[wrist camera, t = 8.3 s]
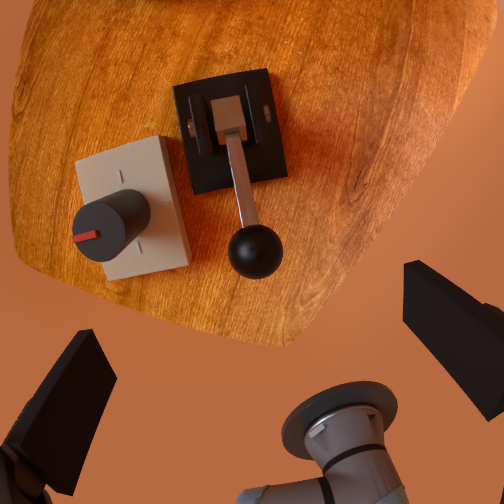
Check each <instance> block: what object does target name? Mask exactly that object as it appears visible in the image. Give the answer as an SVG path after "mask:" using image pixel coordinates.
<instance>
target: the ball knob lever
mask: <svg viewBox="0 0 504 504" xmlns="http://www.w3.org/2000/svg"><path fill="white" fill-rule="evenodd" d="M210 104H211V109H212V115H213V121H214V126H215V132H216V135H217V139H218V142H219V145H224V144H226V146H227V151H228V157H229V162H230V167H231V172H232V177H233V183H234V188H235V193H236V198H237V203H238V208H239V214H240V219H241V224H242V228H241V229H240V230H238V231H237V232H236V233H235V234H234V235H233V237H232V239H231V241H230V243H229V247H228V256H229V260H230V263H231V265H232V267H233V268H234V269H235V271H236V272H237V273H239V274H240V275H242V276H243V277H246V278H249V279H262V278H266V277H268V276H270V275H271V274H273V273H274V272H275V271H276V270H277V269H278V267H279V266H280V264H281V261H282V258H283V246H282V242H281V240H280V238H279V236H278V235H277V234H276V233H275V232H274V231H273V230H272V229H270V228H268V227H266V226H264V225H259V222H258V218H257V213H256V208H255V203H254V198H253V193H252V189H251V184H250V179H249V174H248V170H247V165H246V160H245V155H244V151H243V146H242V141H245V140H247V139H248V138H247V125H246V120H245V116H244V112H243V108H242V103H241V99H240V96H239V95H236V96H231V97H226V98H221V99H216V100H211V101H210Z"/></svg>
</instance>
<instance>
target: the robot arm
mask: <svg viewBox="0 0 504 504" xmlns="http://www.w3.org/2000/svg"><path fill="white" fill-rule="evenodd" d="M403 322H404V323H405V324H406V325H407V326H408V327H409V328H410V329H411V331H412V332H413V333H414V334H415V335H416V336H417V337H418V338H419V339H420V341H421V342H422V343H423V344H424V345H425V346H426V347H427V348H428V350H429V351H430V352H431V353H432V354H433V355H434V356H435V358H436V359H437V360H438V361H439V362H440V363H441V364H442V366H443V367H444V368H445V369H446V371H447V372H448V373H449V374H450V375H451V377H452V378H453V379H454V380H455V381H456V383H457V384H458V385H459V386H460V387H461V388H462V390H463V391H464V392H465V393H466V394H467V396H468V397H469V398H470V400H471V401H472V402H473V403H474V405H475V406H476V407H477V408H478V410H479V411H480V412H481V414H482V415H483V416H484V417H485V419H486V420H487V421H488V422H489V421H490V420H492V419H493V418H495V417H496V416H498V415H499V414H501V413H502V412H504V312H503V311H501V310H500V309H499V308H497V307H495V306H492V305H490V304H487V303H484V304H482V303H480V302H479V301H477V300H476V299H475V298H473V297H472V296H471V295H469V294H468V293H466V292H465V291H464V290H462V289H461V288H459V287H458V286H457V285H455V284H454V283H452V282H451V281H449V280H448V279H447V278H445V277H444V276H442V275H441V274H439V273H438V272H436V271H435V270H433V269H432V268H430V267H429V266H427V265H426V264H424V263H423V262H421V261H420V260H417V261H413V262H409V263H405V264H404V297H403ZM116 380H117V377H116V375H115V373H114V371H113V369H112V367H111V366H110V364H109V362H108V360H107V358H106V356H105V354H104V352H103V351H102V348H101V346H100V345H99V342H98V340H97V338H96V336H95V334H94V332H93V330H92V329H88V330H81V331H78V332H77V334H76V335H75V336H74V338H73V339H72V341H71V342H70V343H69V345H68V346H67V347H66V349H65V350H64V352H63V353H62V354H61V356H60V357H59V359H58V360H57V361H56V363H55V364H54V366H53V367H52V369H51V370H50V372H49V373H48V375H47V376H46V378H45V379H44V380H43V382H42V383H41V385H40V386H39V388H38V390H37V391H36V393H35V394H34V396H33V397H32V398H31V399H30V400H29V401H28V402H27V403H26V405H25V407H24V408H23V410H22V413H20V415H19V416H18V420H16V421H15V423H14V425H13V426H12V428H11V430H10V431H9V433H8V435H7V437H6V438H5V440H4V442H3V444H2V445H1V446H0V504H53V503H52V501H51V498H50V495H49V494H48V492H47V491H46V490H45V489H44V487H45V485H46V484H47V485H48V486H50V487H51V488H52V489H53V490H54V491H56V492H57V493H61V494H65V495H69V496H73V493H74V491H75V488H76V485H77V482H78V479H79V476H80V473H81V470H82V467H83V464H84V461H85V459H86V456H87V453H88V450H89V448H90V445H91V442H92V440H93V437H94V434H95V432H96V429H97V426H98V424H99V422H100V419H101V416H102V414H103V412H104V409H105V406H106V404H107V402H108V399H109V397H110V394H111V392H112V390H113V387H114V385H115V383H116ZM303 440H304V444H305V447H306V449H307V451H308V453H309V454H310V455H311V457H312V458H313V459H314V460H315V462H316V463H317V464H318V465H319V467H320V468H321V469H322V473H323V477H319V478H314V479H309V480H303V481H298V482H292V483H286V484H279V485H271V486H270V485H266V486H264V487H257V488H251V489H246V490H244V491H243V492H241V493H240V494H239V496H238V498H237V501H236V504H409V501H408V498H407V495H406V493H405V490H404V489H405V486H404V485H403V484H402V482H401V480H400V478H399V476H398V473H397V471H396V469H395V467H394V465H393V463H392V460H391V458H390V456H389V454H388V452H387V450H386V448H385V445H384V429H383V419H382V416H381V414H380V412H379V410H378V408H377V407H376V406H374V405H372V404H370V403H364V402H356V403H349V404H345V405H341V406H338V407H335V408H333V409H331V410H329V411H327V412H325V413H323V414H321V415H320V416H318V417H317V418H316V419H314V420H313V421H312V422H311V423H310V424H309V425H308V427H307V428H306V430H305V432H304V435H303ZM500 504H504V488H503V493H502V498H501V502H500Z"/></svg>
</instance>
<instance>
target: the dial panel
mask: <svg viewBox="0 0 504 504" xmlns="http://www.w3.org/2000/svg"><path fill="white" fill-rule="evenodd" d="M75 166H76V171H77V176H78V180H79V184H80V189H81V193H82V197H83V201H84V205H86V204H88V203H90V202H93V201H95V200H98V199H100V198H102V197H105V196H107V195H110V194H112V193H115V192H118V191H120V190H123V189H133V190H136V191H138V192H140V193H141V194H142V195H143V196H144V197H145V198H146V199H147V201H148V203H149V206H150V210H151V217H150V221H149V224H148V226H147V227H146V228H145V230H144V231H143V232H142V233H140V234H139V235H138V236H137V237H136V238H135V239H134V240H133V241H132V242H131V243H130V244H129V245H128V246H127V247H126V248H125V249H124V250H123V251H122V252H121V253H120V254H119V255H118V256H117V257H116V258H114V259H112V260H110V261H107V262H102V265H103V268H104V271H105V274H106V277H107V279H108V281H112V280H118V279H123V278H128V277H133V276H138V275H143V274H148V273H153V272H158V271H163V270H168V269H173V268H178V267H184V266H189V264H190V262H191V259H192V252H191V248H190V244H189V241H188V237H187V233H186V229H185V225H184V220H183V216H182V212H181V208H180V204H179V199H178V195H177V191H176V186H175V182H174V177H173V173H172V168H171V164H170V159H169V154H168V149H167V144H166V140H165V136H161V135H155V136H152V137H148V138H145V139H141V140H138V141H135V142H131V143H128V144H125V145H122V146H119V147H116V148H113V149H110V150H107V151H104V152H101V153H98V154H95V155H92V156H90V157H87V158H84V159H81V160H79V161H76V162H75Z"/></svg>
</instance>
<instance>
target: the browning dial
mask: <svg viewBox="0 0 504 504" xmlns="http://www.w3.org/2000/svg"><path fill="white" fill-rule="evenodd" d="M150 217H151V210H150V206H149V203H148V201H147V199H146V198H145V197H144V196H143V195H142V194H141V193H140V192H138V191H136V190H133V189H123V190H120V191H118V192H115V193H112V194H110V195H107V196H105V197H102V198H100V199H98V200H95V201H93V202H90V203H88V204H86V205H84V206H83V207H82V208H81V209H80V210H79V211H78V212H77V214H76V216H75V218H74V221H73V227H72V230H73V236H72V239H73V243H76V245H77V247H78V249H79V250H80V251H81V252H82V253H83V254H84V255H85V256H86V257H87V258H89V259H91V260H94V261H97V262H107V261H110V260H112V259H114V258H116V257H117V256H118V255H119V254H120V253H121V252H122V251H123V250H124V249H125V248H126V247H127V246H128V245H129V244H130V243H131V242H132V241H133V240H134V239H135V238H136V237H137V236H138V235H139V234H140V233H142V232H143V231H144V230H145V228H146V227H147V226H148V224H149V221H150Z"/></svg>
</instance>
